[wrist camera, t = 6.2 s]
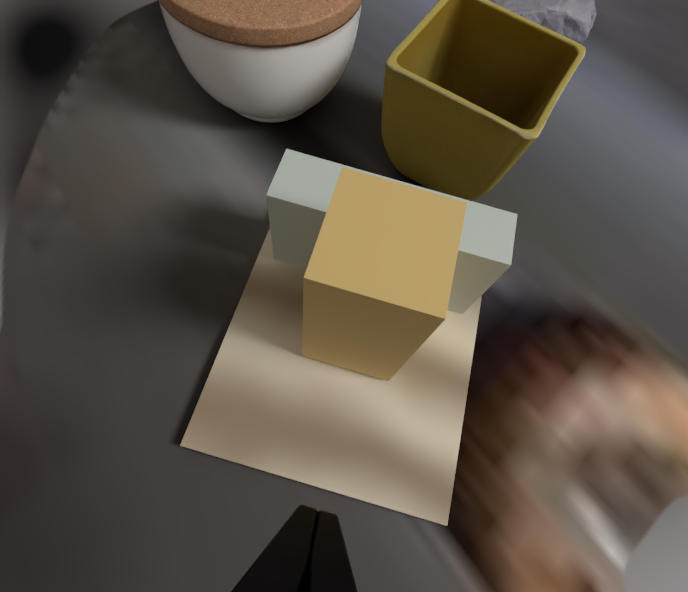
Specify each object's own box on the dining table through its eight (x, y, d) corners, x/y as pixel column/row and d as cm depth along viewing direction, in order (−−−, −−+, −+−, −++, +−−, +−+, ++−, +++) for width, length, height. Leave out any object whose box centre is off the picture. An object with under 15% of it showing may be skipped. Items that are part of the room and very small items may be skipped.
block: (388, 381, 23) (445, 319, 14) (302, 355, 24) (303, 277, 14) (415, 266, 26) (476, 154, 17) (338, 244, 27) (358, 121, 17)
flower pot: (417, 103, 33) (455, -20, 25) (516, 155, 32) (591, 45, 24) (359, 175, 30) (382, 61, 22) (468, 237, 29) (535, 141, 21)
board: (443, 524, 22) (447, 525, 21) (182, 446, 22) (179, 445, 21) (485, 248, 29) (489, 244, 28) (287, 191, 29) (286, 186, 28)
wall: (462, 314, 26) (511, 265, 20) (273, 259, 26) (266, 195, 20) (469, 272, 27) (517, 214, 21) (289, 220, 27) (286, 148, 21)
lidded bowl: (354, 42, 35) (376, -131, 25) (347, 161, 30) (370, 3, 20) (201, 23, 35) (161, -165, 25) (167, 141, 30) (99, -33, 20)
